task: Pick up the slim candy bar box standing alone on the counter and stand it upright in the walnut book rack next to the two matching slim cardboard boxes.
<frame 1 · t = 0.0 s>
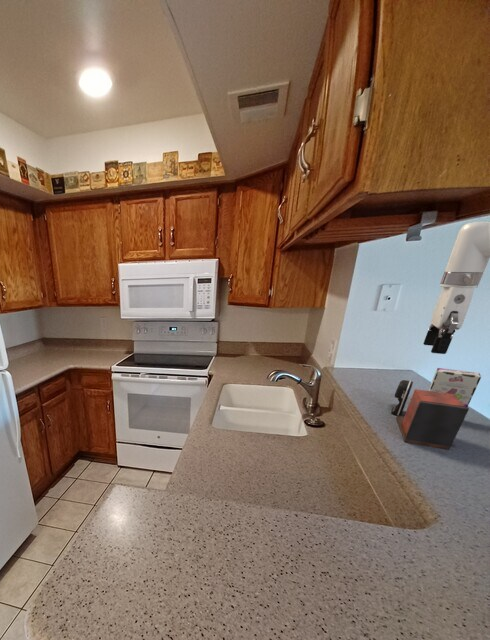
hand: (433, 349, 90), 27 cm above the worktop, tool pointing down, fingers open, 9 cm apart
candy bar box: (438, 418, 113), on the worktop
battery charger: (395, 412, 117), on the worktop
book rack: (420, 432, 103), on the worktop
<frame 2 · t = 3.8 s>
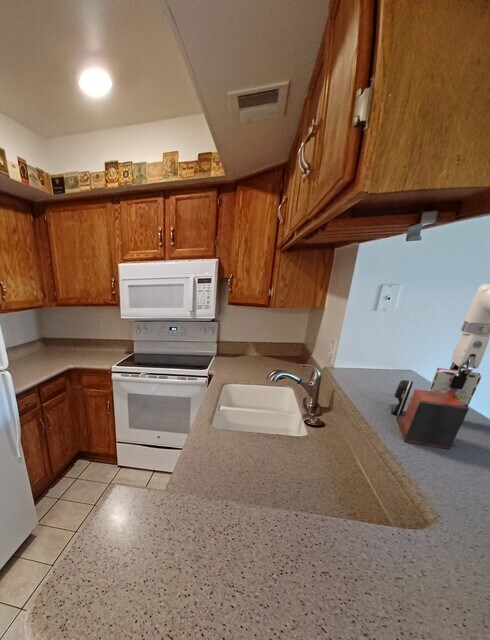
hand: (453, 384, 107), 12 cm above the worktop, tool pointing down, fingers closed on candy bar box, 5 cm apart
candy bar box: (438, 418, 113), on the worktop, touching gripper
everything else where it was.
when the fingers open (15 cm above the worktop, at t = 10.2 s): candy bar box drops 2 cm, resting on book rack.
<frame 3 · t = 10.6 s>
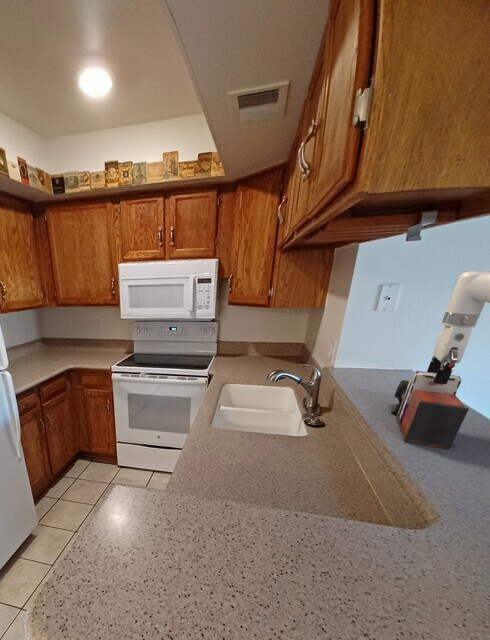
hand: (435, 378, 100), 16 cm above the worktop, tool pointing down, fingers open, 9 cm apart
candy bar box: (418, 423, 107), point 1 cm above the worktop, touching book rack
everything else where it was.
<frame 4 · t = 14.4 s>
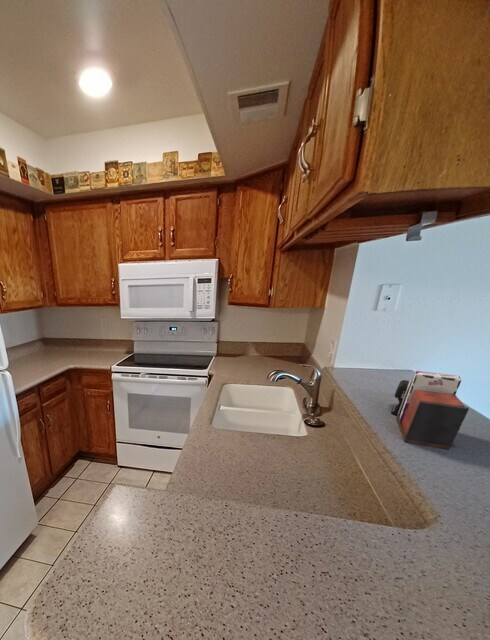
nothing on the worktop moved.
at the end: candy bar box 0.2 cm from the target spot on the book rack, point 0.8 cm above the book rack's base; candy bar box tilted 0° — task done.
